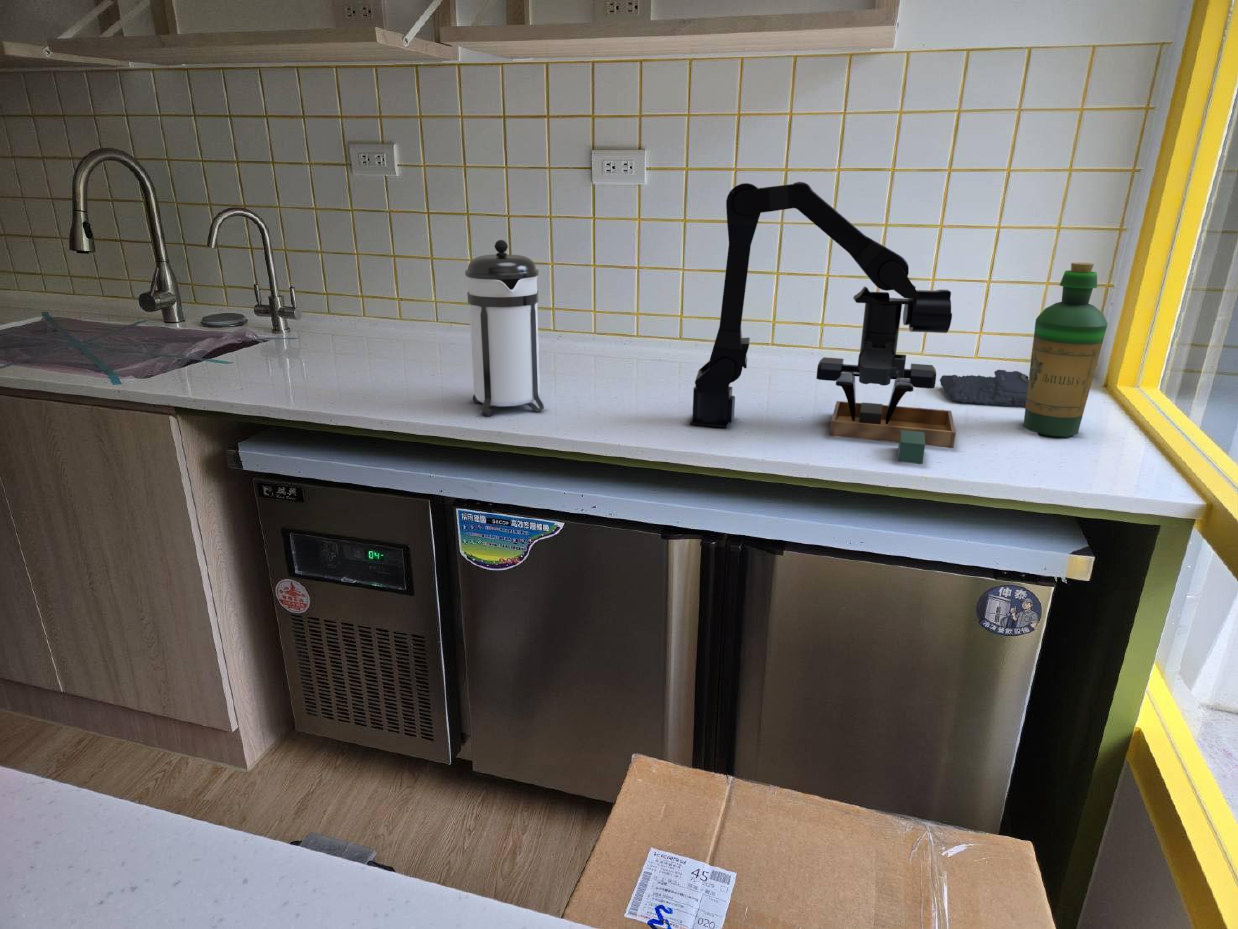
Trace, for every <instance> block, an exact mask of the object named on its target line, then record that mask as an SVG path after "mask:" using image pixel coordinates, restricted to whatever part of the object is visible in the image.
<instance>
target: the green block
mask: <svg viewBox="0 0 1238 929" xmlns="http://www.w3.org/2000/svg"><path fill="white" fill-rule="evenodd" d="M897 447H898V448H897V452H898V453H897V461H898V462H901V463H910V464H911V463H913V464H923V463H924V455H925V449H926V445H925V437H924V432H917V431H906V430H901V431H900V439H899V442H898V446H897Z"/></svg>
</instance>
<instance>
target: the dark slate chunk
mask: <svg viewBox="0 0 1238 929" xmlns="http://www.w3.org/2000/svg"><path fill="white" fill-rule="evenodd" d="M993 374H994V376H985V375H981V374H980V375H979V374H977V375H974V374H973V375H972V374H971V375H969V374H967V375H961V376H960V375H957V374H952V375H950V374H949V375H947V374H943V375H941V377H940V378H939V383H940V384H939V385H940V386H941V387H942V390H943V392H944V394H945V395H946V397H947V398H948V399H950V400H952V401H953V402H955V403H965V404H968V405H977V406H979V405H980V406H981V405H982V406H991V407H992V406H993V407H994V406H995V407H997V406H998V407H1010V408H1025V407H1026V399H1027V390H1028V382H1029V375H1027V374H1025V373H1022V372H1021V371H1019V370H1013V371H1007V370H1005V369H997V370H995V371H994V373H993Z"/></svg>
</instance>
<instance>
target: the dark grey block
mask: <svg viewBox="0 0 1238 929" xmlns="http://www.w3.org/2000/svg"><path fill="white" fill-rule="evenodd" d="M861 403H862V404H861V409H860V417H859V423H869V424H880V425H881V418H882V407H883V405H884V404H883V403H875V402H873V403H872V402H861Z"/></svg>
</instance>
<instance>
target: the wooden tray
mask: <svg viewBox="0 0 1238 929" xmlns="http://www.w3.org/2000/svg"><path fill="white" fill-rule="evenodd" d="M861 404H862V402H856V413H855V421H852V418H851V414H850V409H849V405H848V401H844V400H836V402H835V405H834V408H833V413H832V416H831V419H830V425H829V427H830V428H829V436H830V437H839V438H849V439H861V440H870V441H880V442H891V443H899V439H900V431H901V430H906V431H917V432H924V437H925V446H931V447H942V448H951V449H954V447H955V441H956V435H957V430H956V427H955V422H954V417H953V412H952V410H947V409H937V408H925V407H912V406H902V405H897V406H896V408H895V410H894V412H893V414H892V416H891V419H890V421H889V423H888V424H885V422H886V414H887V409H888V405H889V404H883V407H882V418H881V425H880V424H869V423H859V417H860V409H861Z"/></svg>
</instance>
